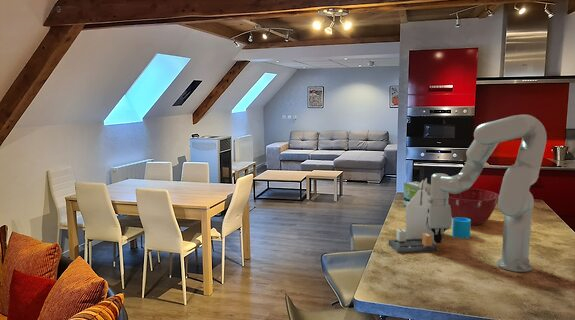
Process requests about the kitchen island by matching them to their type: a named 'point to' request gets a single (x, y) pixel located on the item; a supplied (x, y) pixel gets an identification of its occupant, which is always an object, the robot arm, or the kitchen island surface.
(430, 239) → the fader orange
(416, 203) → the gable box
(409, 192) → the tea box
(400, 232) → the fader ivory
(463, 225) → the mug
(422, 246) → the console
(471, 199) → the mixing bowl
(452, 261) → the kitchen island surface
